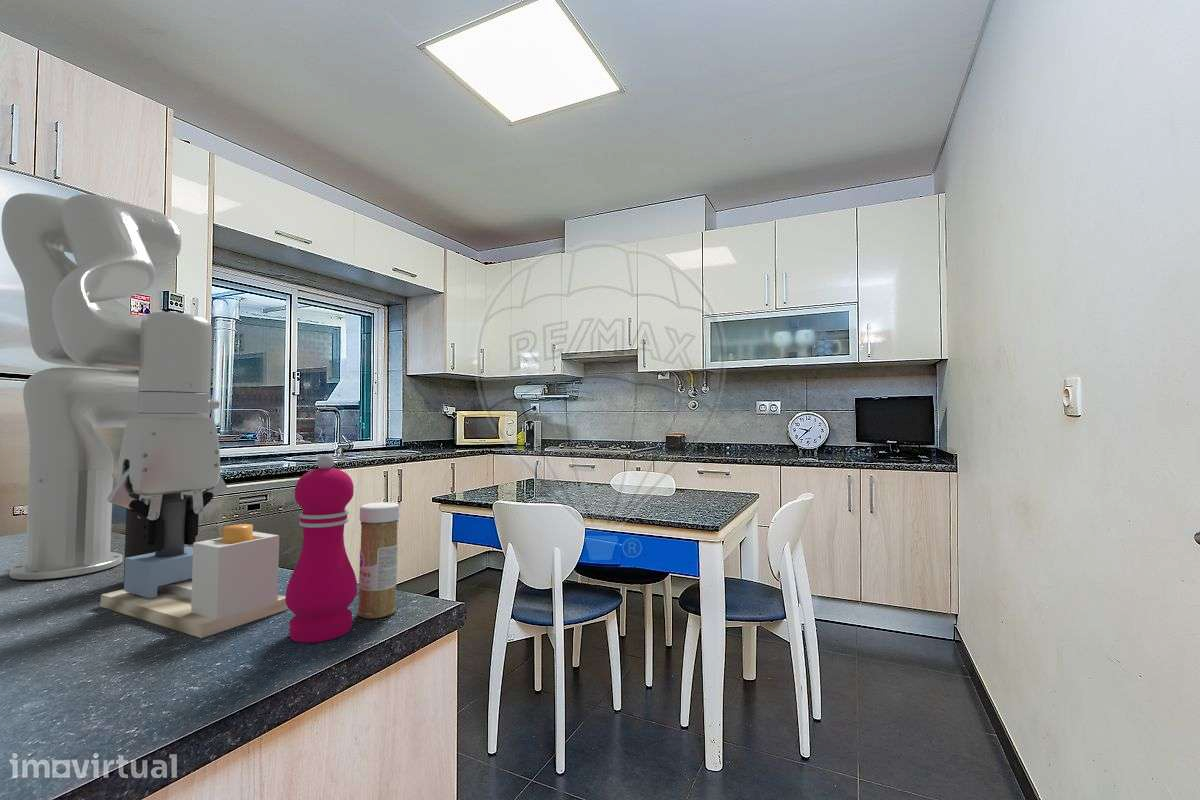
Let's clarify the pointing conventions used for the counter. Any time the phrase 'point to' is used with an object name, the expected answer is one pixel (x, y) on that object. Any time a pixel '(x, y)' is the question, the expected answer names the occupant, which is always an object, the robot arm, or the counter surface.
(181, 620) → the rail base
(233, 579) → the white box holder
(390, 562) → the sprinkles bottle
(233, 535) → the plunger
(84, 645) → the counter surface
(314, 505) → the pepper mill
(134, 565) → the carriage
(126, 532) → the vinegar
